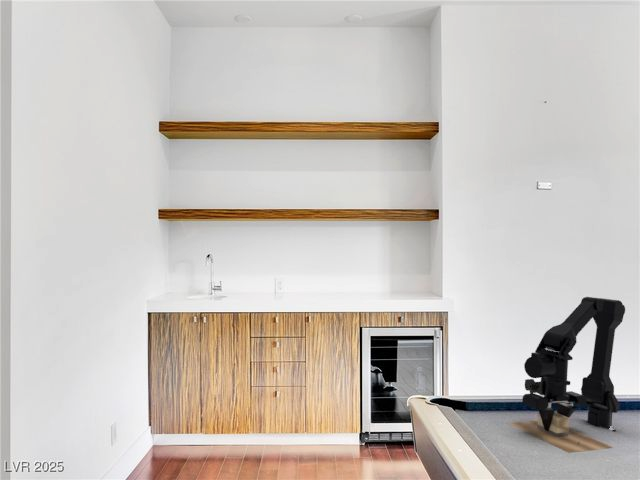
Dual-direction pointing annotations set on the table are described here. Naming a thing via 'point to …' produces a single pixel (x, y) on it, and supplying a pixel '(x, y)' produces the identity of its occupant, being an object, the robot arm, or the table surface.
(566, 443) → the light brown wooden board
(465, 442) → the table surface
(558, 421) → the block
